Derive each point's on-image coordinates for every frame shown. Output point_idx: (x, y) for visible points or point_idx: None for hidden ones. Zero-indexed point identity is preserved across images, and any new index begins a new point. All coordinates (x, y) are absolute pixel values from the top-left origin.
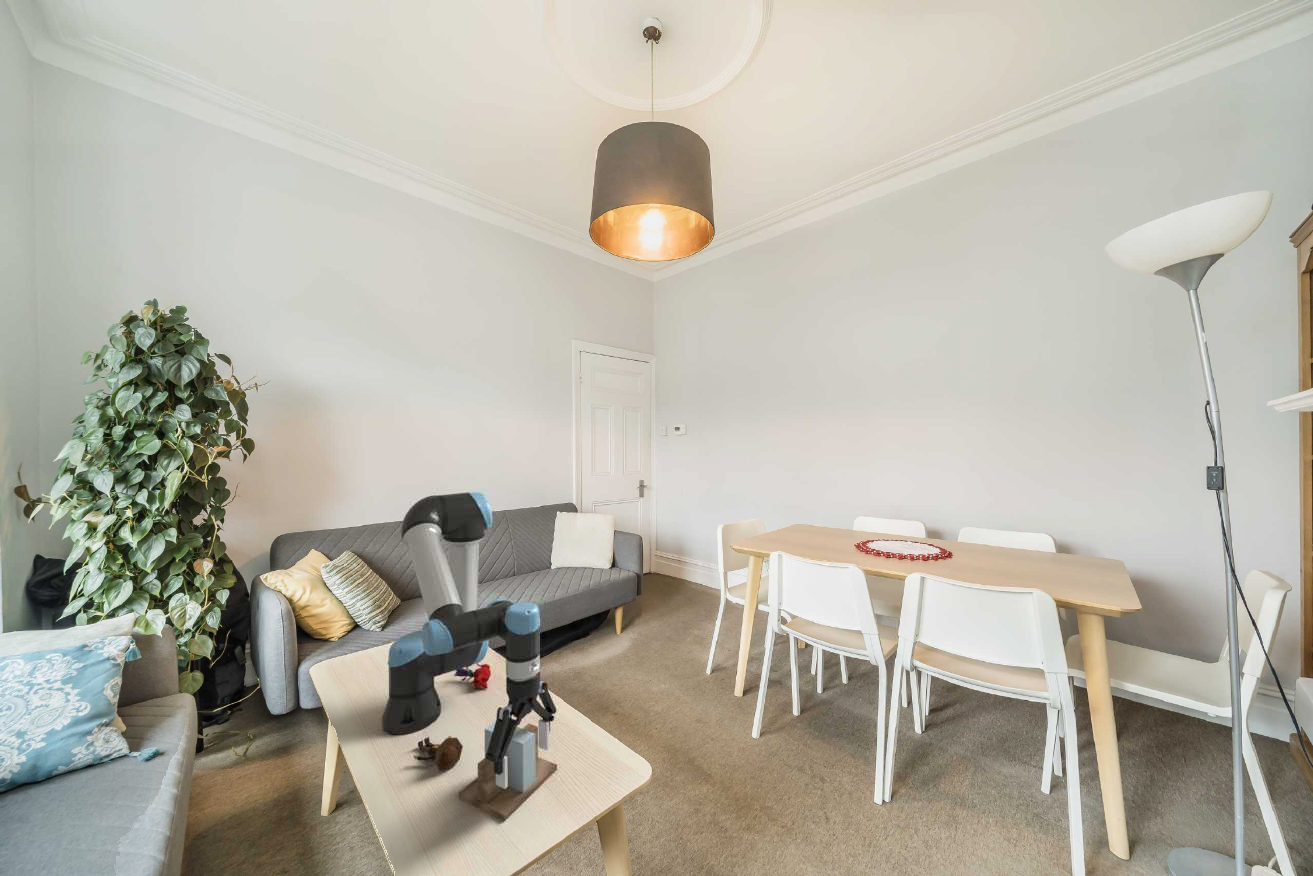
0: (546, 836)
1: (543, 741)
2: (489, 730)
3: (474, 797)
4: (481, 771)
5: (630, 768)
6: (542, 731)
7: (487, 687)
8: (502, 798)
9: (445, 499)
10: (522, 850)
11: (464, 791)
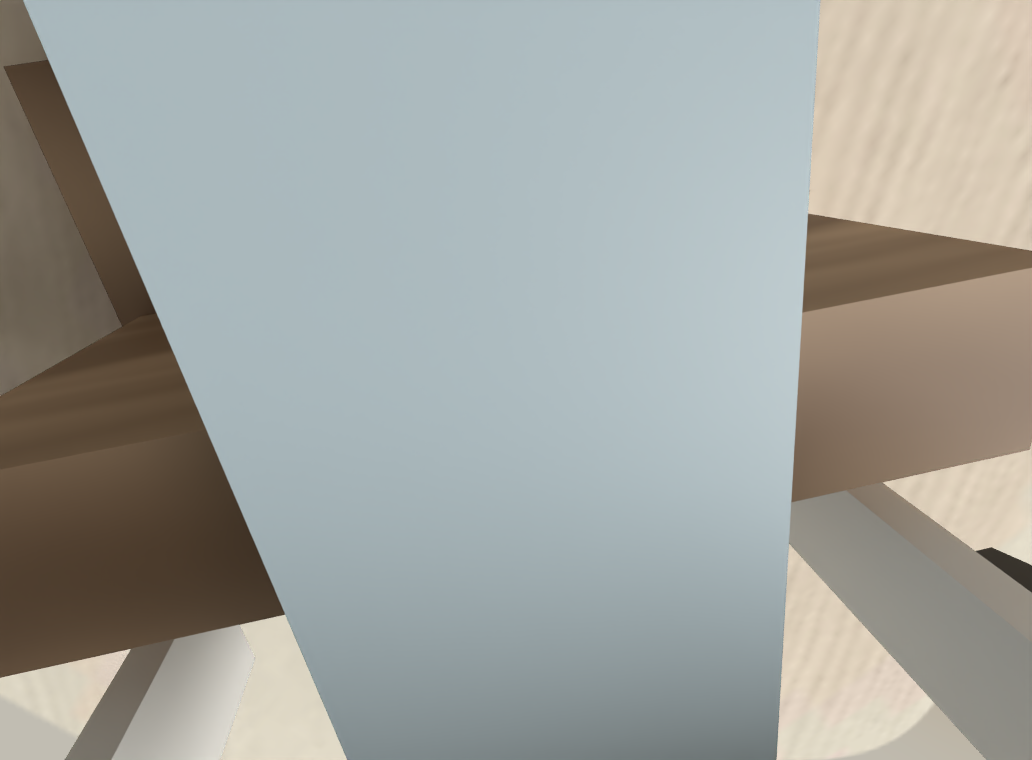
0: None
1: (840, 553)
2: (100, 137)
3: (123, 267)
4: None
5: (910, 700)
6: (938, 629)
7: None
8: None
9: None
10: (232, 745)
11: (65, 105)
